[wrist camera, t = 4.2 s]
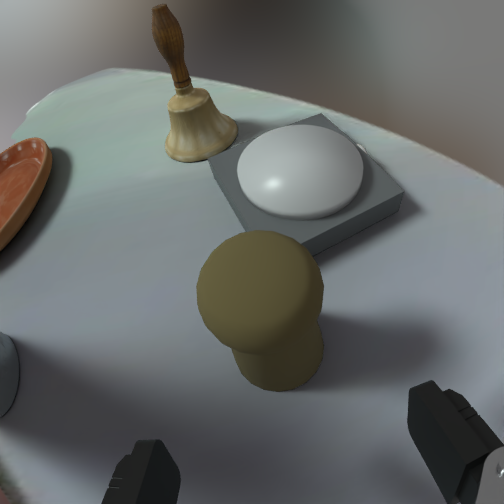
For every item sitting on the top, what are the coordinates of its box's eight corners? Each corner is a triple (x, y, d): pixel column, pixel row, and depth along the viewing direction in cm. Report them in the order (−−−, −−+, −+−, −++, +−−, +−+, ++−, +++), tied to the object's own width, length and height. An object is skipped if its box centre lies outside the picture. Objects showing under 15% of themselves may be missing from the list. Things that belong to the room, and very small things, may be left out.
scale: (272, 276, 24) (266, 252, 21) (214, 177, 30) (204, 150, 27) (401, 208, 25) (410, 180, 22) (324, 131, 32) (324, 103, 29)
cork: (342, 354, 20) (371, 282, 11) (267, 409, 19) (229, 388, 10) (287, 290, 23) (271, 184, 14) (217, 339, 22) (151, 262, 13)
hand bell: (182, 117, 37) (140, 3, 24) (246, 115, 35) (216, -14, 22) (154, 163, 33) (93, 36, 20) (225, 164, 31) (179, 12, 18)
